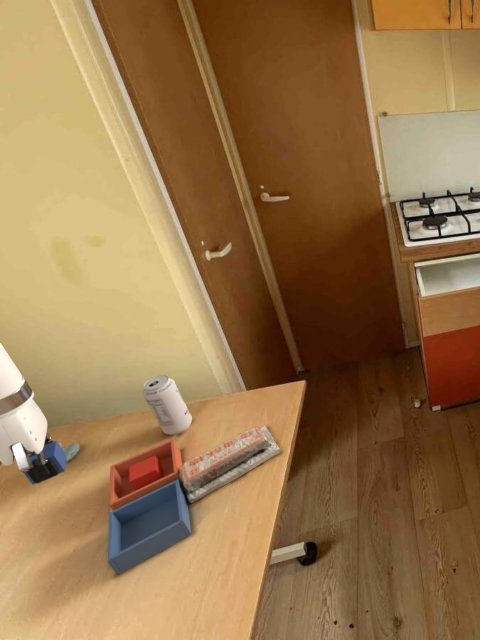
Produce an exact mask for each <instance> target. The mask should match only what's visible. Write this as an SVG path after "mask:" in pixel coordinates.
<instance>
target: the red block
mask: <svg viewBox="0 0 480 640" xmlns="http://www.w3.org/2000/svg"><path fill="white" fill-rule="evenodd" d="M161 478H164V476H163V468H162V466H161V464H160V463H159V461H158V459H157V457H156V456H152V457H150V458H148V459H146V460H143V461H141V462H139V463H137V464H134V465H132V466H130V467H129V482H130V483H131V485H132V486H133V488H134V489H135V491H136V490H138V489H140V488H143V487H145V486H147V485H149V484H151V483H153V482H155V481H157V480H159V479H161Z"/></svg>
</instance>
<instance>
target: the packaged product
mask: <svg viewBox="0 0 480 640" xmlns="http://www.w3.org/2000/svg"><path fill="white" fill-rule="evenodd" d="M278 454H280V447H279V446H278V444H277V443H276V440H275V439H274V437H273V435H272V433H271V432H270V430H269V429H268V428H267V426H266V425H264V426H262V427H259V426H254V427H252V428H250V429H248V430H246V431H244V432H242V433H240V434H239V435H236V436H234V437H232V438H231V439H228V440H226V441H225V442H223V443H221V444H219V445H217V446H215V447H213V448H211V449H209V450H206V451H205V452H203V453H201V454H199V455H197V456H195V457H193V458H191V459H189V460H187V461H184V462H183V463H182V465H181V468H180V473H179V476H180V479H181V482H182V483H183V485H184V487H183V488H184V490H185V491H186V497H187V501H188V502H189V503H190V504H193V503H195V502H196V501H198V500H200V499H202V498H203V497H205V496H206V495H207V496H208V495H209V494H210V493H212V492H214V491H216V490H217V489H220V488H221V487H224V486H225V485H227V484H229V483H232V482H233V481H236V480H237V479H239V478H240V477H242V476H243V475H245V474H246V473H248V472H250V471H251V470H252V469H255V468H257V467H258V466H260V465H261V464H263V463H264V462H267V461H268V460H270V459H272V458H273V457H275V456H276V455H278Z"/></svg>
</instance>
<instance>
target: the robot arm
mask: <svg viewBox="0 0 480 640" xmlns="http://www.w3.org/2000/svg"><path fill="white" fill-rule="evenodd" d="M8 353H9V352H7V351H6V348H5V347H4V346H3V344H2V343H1V342H0V462H1V464H2V465H3V466H5V467H10V466H11V465H13V464H14V460H15V461H16V465H17V468H18V470H19V472H20V473H23V472H22V471H25V472H27V473H28V475H29V476H30V477H31V479H32V480H33V481H34V483H36V484H40V483H42V482H45V481H47V480H49V479H52V478H54V477H56V476H58V475H59V474H58V473H59V471H58V470H57V468H56V467H55V466H54V464H53V463H52V461H51V460H50V459H46V457H45V455H44V453H43V452H42V450H43V447H44V445H46V444H49V443H51V442H54V440H52V436H51V435H50V434H49V432H48V431H47V429H48V420H47V418H46V416H45V415H44V413H43V411H42V410H41V408H40V407H39V405H38V404H37V403H36V401H35V400H34V397H35V392H34V391H33V390H32V388H31V386H30V385H29V383H28V382H27V381H26V379H25V377H24V376H23V374H22V373H21V371H20V369H19V368H18V367H17V365H16V364H15V362H14V361H13V359H12V358H11V357H10V355H9V354H8ZM28 451H30V452H28ZM34 455H37V457H38V459H35V460H32V461H31V460H30V458H29V457H31V456H34Z"/></svg>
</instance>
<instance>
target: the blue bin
mask: <svg viewBox="0 0 480 640" xmlns="http://www.w3.org/2000/svg"><path fill="white" fill-rule="evenodd" d="M188 506H189V504H188V497H187V494H186V491H185V488H184V487H183V486H182V485H181V483H180V481H179V479H177V480H175V481H173V482H171V483H169V484H167V485H165V486H163V487H161V488H159V489H157V490H155V491H152V492H150V493H148V494H146V495H144V496H142V497H140V498H138V499H136V500H134V501H132V502H130V503H128V504H126V505H124V506H122V507H119V508H117V509H115V510H111V511H110V512H108V524H107V525H108V526H107V529H108V530H107V555H106V556H107V557H106V558H107V559H106V562H107V563H108V564H109V565H110V567H111V568H112V569H113V570H114V571H115V573H116V574H117V575H120V574H122V573H124V572H126V571H128V570H129V569H131V568H133V567H135V566H137V565H138V564H140V563H142V562H144V561H146V560H147V559H149V558H151V557H153V556H155V555H157V554H158V553H160V552H162V551H164V550H166V549H167V548H169V547H172V546H173V545H175V544H176V543H178V542H180V541H182V540H183V539H185V538H187V537H189V536H191V535H192V527H191V519H190V513H189V507H188Z"/></svg>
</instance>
